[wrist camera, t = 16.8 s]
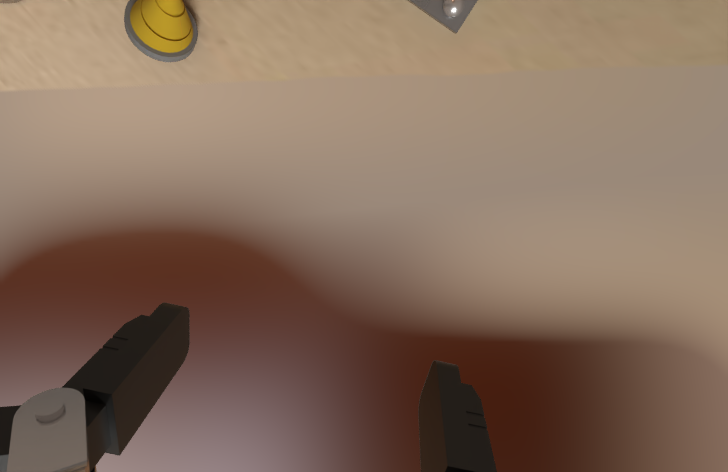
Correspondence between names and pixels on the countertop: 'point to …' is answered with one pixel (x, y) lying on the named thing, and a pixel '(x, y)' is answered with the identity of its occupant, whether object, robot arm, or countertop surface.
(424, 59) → the countertop surface
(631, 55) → the countertop surface
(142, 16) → the drill bit
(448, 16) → the flange
